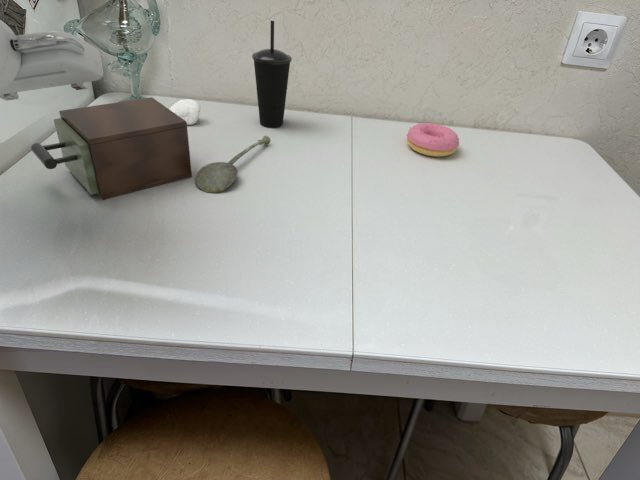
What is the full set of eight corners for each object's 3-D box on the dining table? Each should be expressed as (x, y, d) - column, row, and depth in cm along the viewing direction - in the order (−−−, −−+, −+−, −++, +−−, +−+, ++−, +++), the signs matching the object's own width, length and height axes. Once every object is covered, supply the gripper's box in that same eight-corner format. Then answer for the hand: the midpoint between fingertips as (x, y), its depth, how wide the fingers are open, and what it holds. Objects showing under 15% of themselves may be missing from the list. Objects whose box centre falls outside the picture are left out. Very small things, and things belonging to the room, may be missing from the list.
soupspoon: (187, 190, 80) (223, 201, 79) (185, 171, 78) (222, 183, 77) (252, 139, 96) (282, 148, 95) (252, 122, 94) (283, 132, 93)
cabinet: (102, 199, 74) (88, 139, 68) (73, 168, 80) (58, 110, 75) (192, 176, 82) (186, 121, 77) (159, 149, 89) (152, 97, 83)
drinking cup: (246, 125, 102) (244, 20, 90) (263, 114, 108) (263, 14, 96) (279, 133, 100) (281, 28, 89) (295, 121, 106) (299, 21, 94)
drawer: (59, 203, 70) (44, 152, 66) (35, 172, 76) (20, 124, 72) (176, 173, 81) (171, 128, 76) (147, 149, 87) (141, 105, 82)
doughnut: (404, 155, 98) (408, 135, 96) (405, 134, 107) (408, 116, 105) (458, 163, 98) (463, 143, 96) (454, 141, 107) (459, 123, 105)
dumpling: (207, 121, 102) (206, 105, 99) (191, 133, 99) (190, 117, 96) (179, 107, 103) (177, 91, 100) (162, 119, 100) (160, 102, 97)
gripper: (61, 5, 52) (120, 53, 66) (-131, 33, 52) (-32, 76, 66) (72, 65, 52) (128, 100, 66) (-119, 93, 52) (-23, 123, 66)
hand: (47, 88), depth 66 cm, fingers open, 8 cm apart
